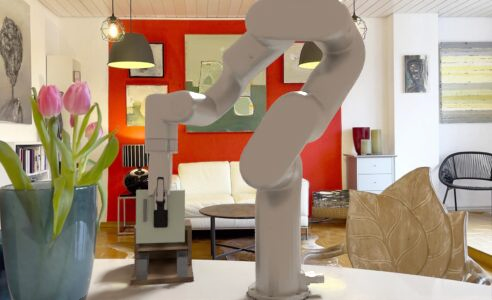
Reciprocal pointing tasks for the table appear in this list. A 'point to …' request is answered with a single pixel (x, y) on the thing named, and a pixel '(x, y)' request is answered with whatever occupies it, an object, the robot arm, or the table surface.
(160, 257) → the cabinet
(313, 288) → the table surface
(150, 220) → the door
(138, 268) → the hinge clips
